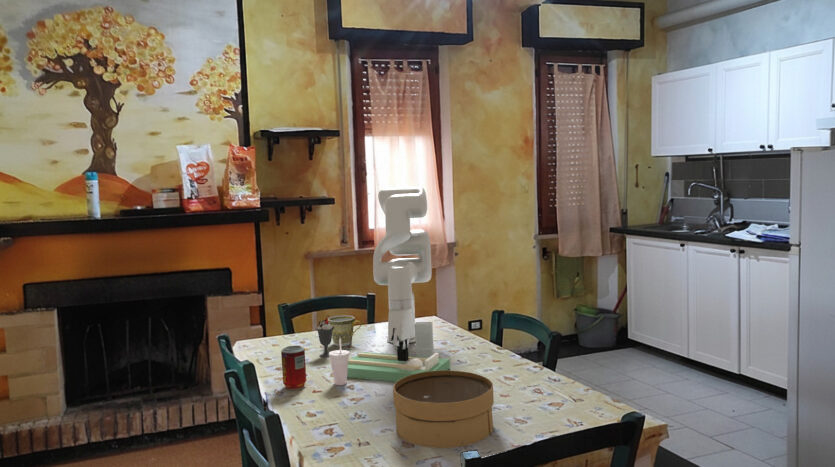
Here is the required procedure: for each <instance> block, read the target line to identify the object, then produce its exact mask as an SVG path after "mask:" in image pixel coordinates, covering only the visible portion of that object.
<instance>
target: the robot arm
mask: <svg viewBox="0 0 835 467" xmlns="http://www.w3.org/2000/svg"><path fill="white" fill-rule="evenodd" d="M377 198H378V199H377V200H378V203H379V205H380V207H381V209H382V212H383V213H384V215H385V216H384V217H385V220H384V221H385V235H384V236H383V237H382V238H381V240H380V241H379V242H378V243H377V245H376V246H375V248H374V252H373V258H372V259H373V260H372V272H373V280H374V282H375V283H376V284H377V285H379V286H387V289H388V290H387V291H388V292H387V293H388V316H387V317H388V319H387V320H388V321H387V322H388V323H387V324H388V325H387V337H386V341H387V342H388V343H389V344H390V343H391V344H393V345H392V346H394V347H395V348H396V355H397V360H398V361H405V362H406V361H407V360H409V357H408V356H409V344H413V343H416V342H415V323H416V316H415V315H416V311H415V310H416V309H415V294H414V291H413V287H412V285H413V284H419V283H420V284H421V283H427V282H429V281H430V280H431V279H432V272H433V271H432V270H433V267H432V249H431V247H432V244H431V237H430V235H429V233H428V231H426V230H424V229H411V219H420V218H424V217H425V216H426V215H427V212H428V198H427V194H426V190H425V188H424V187H422V186H398V187H395V186H393V187H386V188H382V189H380V190H379V191H378V196H377ZM388 251H389V253H390V254H391V255H393V256H399V257H400V256H418V257H410V258H409V257H403V258H393V259H391V260H389V261H384V262H383V261H382V258H383V256H384V255H385V254H386V253H387V252H388Z"/></svg>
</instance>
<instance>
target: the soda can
mask: <svg viewBox="0 0 835 467" xmlns="http://www.w3.org/2000/svg"><path fill="white" fill-rule="evenodd" d="M280 352H281V354H280V355H281V367H282V368H281V370H282V382H283V385H284V388H285V389H286V390H290V391H291V390H292V391H293V390H294V391H295V390H302V389H303V388H304V387H305V385H306V383H307V370H306V365H307V364H306V355H305V354H306V350H305V348H304V347H303V346H301V345H289V346H286V347H284V348H282V349H281V351H280Z"/></svg>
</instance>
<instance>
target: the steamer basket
mask: <svg viewBox="0 0 835 467" xmlns="http://www.w3.org/2000/svg"><path fill="white" fill-rule="evenodd" d="M392 394H393V396H392V397H393V406H394V408H395V423H396V424H395V426H396V429H395V430H396V434H397V436H398V437H399V438H400V439H401V440H403V441H405V442H407V443H410V444H413V445H415V446H420V447H425V448H432V449H433V448H437V449H444V448H445V449H446V448H447V449H449V448H460V447H466V446H469V445H473V444H476V443H479V442H481V441H483V440H485V439H487V437H489V436H491V435H492V433H493V430H494V422H493V421H494V419H493V418H494V417H493V406H494V400H495V398H494V384H493V381H492V380H490V379H489V378H487V377H485V376H483V375H481V374H477V373H473V372H468V371H460V370H447V371H428V372H421V373H417V374H413V375H409V376H406V377H404V378H402V379H400V380H398V381H397V382H394V385H393V386H392Z"/></svg>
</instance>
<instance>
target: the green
mask: <svg viewBox="0 0 835 467" xmlns="http://www.w3.org/2000/svg"><path fill="white" fill-rule="evenodd" d="M439 354H440V353H439V352H434V354H433V355H432V356H431V357H419V356H416V355H408V357H409V360H407V361H406V362H405V361H398V360H397V354H391V353H382V352H381V353H379V352H367V351H362V352H358V353H357V354H356V355H355V356H352V357H351V358H350V359H349V358H348V372H347V378H351V379H352V378H354V379H361V380H363V379H365V380H372V381H373V380H375V381H384V382H392V383H393V382H394V383H396V382H397V381H398V380H400V379H402V378H404V377H406V376H409V375H413V374H417V373H421V372H428V371H449V369H451V359H450V358H442V357H441V358H440V357H439V356H440V355H439ZM414 358H417V359H420V360H421V361H422V363H423V367H420V366H418V365H408V363H409V361H410V360H412V359H414Z"/></svg>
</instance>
